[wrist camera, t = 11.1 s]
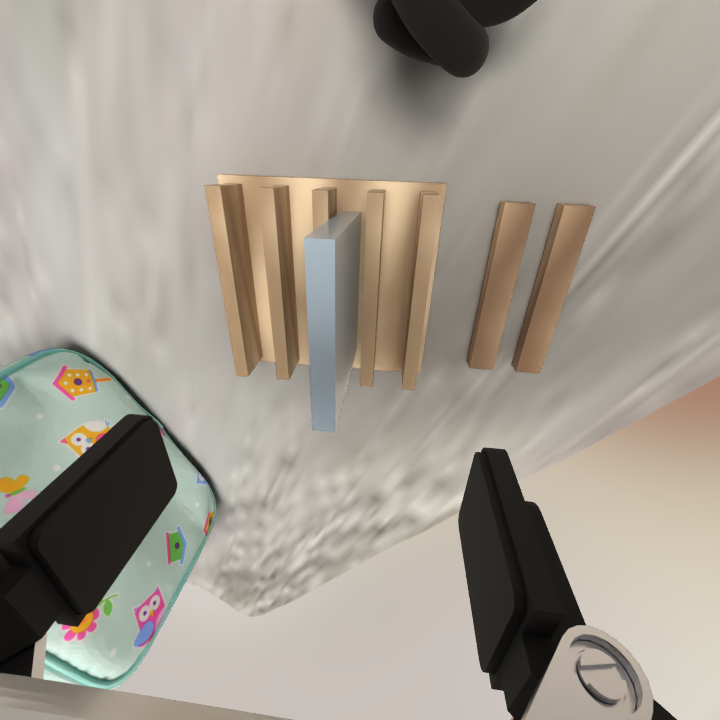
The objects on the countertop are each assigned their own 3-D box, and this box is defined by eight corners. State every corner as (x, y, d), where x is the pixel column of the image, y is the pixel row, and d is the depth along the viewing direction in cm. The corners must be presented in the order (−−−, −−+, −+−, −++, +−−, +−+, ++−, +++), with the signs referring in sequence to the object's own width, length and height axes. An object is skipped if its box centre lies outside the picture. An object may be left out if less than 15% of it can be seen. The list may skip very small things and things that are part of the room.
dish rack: (444, 183, 24) (453, 186, 20) (419, 367, 32) (423, 395, 28) (223, 174, 25) (192, 176, 22) (249, 354, 33) (229, 380, 29)
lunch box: (7, 353, 36) (-422, 559, 17) (73, 315, 33) (-360, 514, 14) (176, 516, 46) (27, 751, 28) (237, 499, 43) (116, 749, 25)
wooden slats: (587, 205, 24) (595, 206, 23) (535, 366, 31) (539, 373, 29) (500, 201, 25) (505, 202, 23) (467, 361, 31) (469, 368, 30)
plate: (361, 211, 25) (334, 239, 15) (357, 348, 30) (335, 432, 21) (342, 210, 25) (303, 237, 15) (341, 347, 30) (312, 430, 21)
